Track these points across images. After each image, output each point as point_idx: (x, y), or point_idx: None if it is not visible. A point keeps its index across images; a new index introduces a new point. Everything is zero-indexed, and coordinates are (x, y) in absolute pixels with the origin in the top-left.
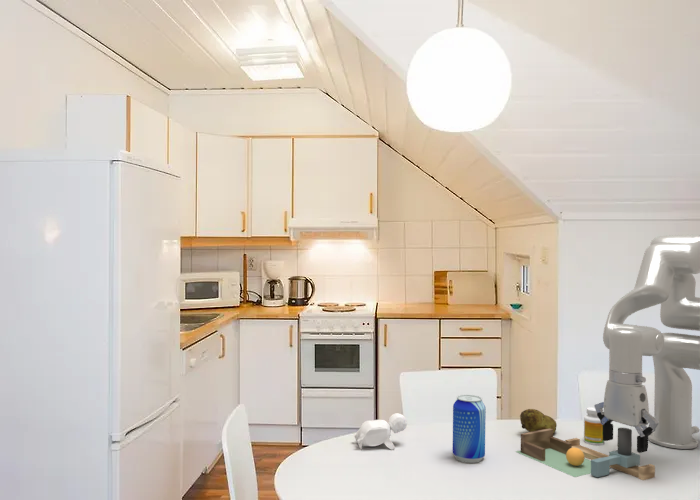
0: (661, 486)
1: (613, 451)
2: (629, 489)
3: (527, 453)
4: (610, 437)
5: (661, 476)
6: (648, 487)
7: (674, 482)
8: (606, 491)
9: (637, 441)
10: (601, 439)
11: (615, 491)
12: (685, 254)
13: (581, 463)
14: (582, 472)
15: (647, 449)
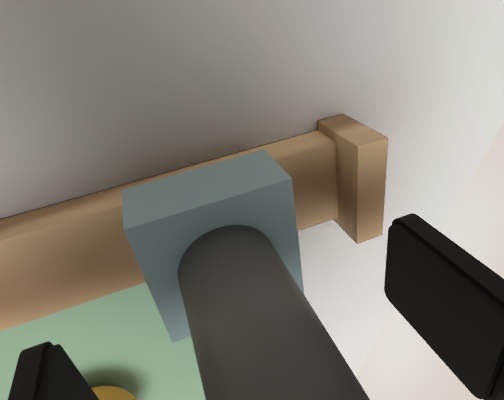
0: (415, 159)
1: (172, 317)
2: (370, 292)
3: None
4: (73, 388)
5: (344, 51)
6: (393, 219)
7: (424, 50)
8: (347, 359)
9: (451, 361)
10: None
11: (359, 337)
12: None
13: (135, 398)
14: (191, 387)
15: (418, 216)
